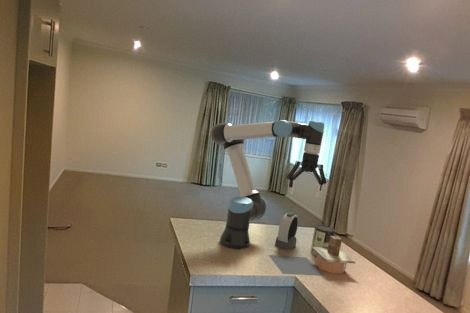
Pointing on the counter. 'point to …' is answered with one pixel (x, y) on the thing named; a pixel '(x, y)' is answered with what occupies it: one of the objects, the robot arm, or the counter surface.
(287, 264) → the mat
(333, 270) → the bowl
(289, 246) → the alarm clock
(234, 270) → the counter surface
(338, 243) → the lid
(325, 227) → the coffee can
